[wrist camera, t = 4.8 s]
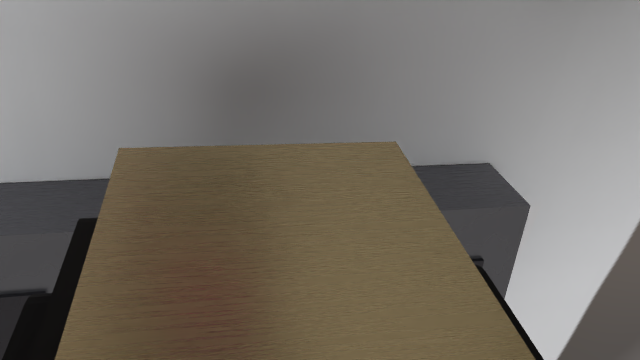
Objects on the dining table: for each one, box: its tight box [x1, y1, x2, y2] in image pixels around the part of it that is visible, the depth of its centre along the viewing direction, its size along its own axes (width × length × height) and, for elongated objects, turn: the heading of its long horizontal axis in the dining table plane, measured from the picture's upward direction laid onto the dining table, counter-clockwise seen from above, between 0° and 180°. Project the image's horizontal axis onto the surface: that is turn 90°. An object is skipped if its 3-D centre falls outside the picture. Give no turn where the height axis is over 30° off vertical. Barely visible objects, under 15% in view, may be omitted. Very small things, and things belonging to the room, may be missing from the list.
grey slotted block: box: [0, 163, 530, 360], centre depth 26 cm, size 25×9×4 cm, turn 88°
